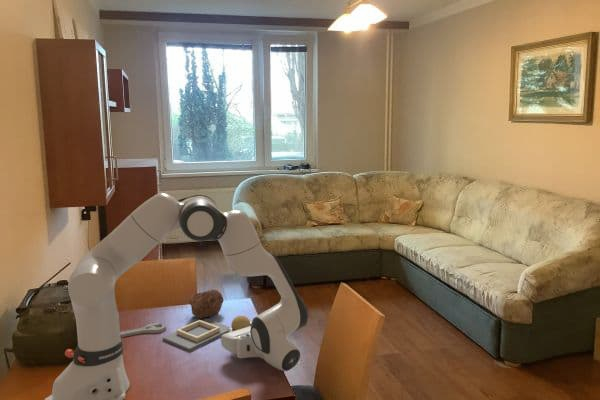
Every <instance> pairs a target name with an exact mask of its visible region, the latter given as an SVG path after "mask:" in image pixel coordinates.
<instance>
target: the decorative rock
mask: <svg viewBox="0 0 600 400" xmlns="http://www.w3.org/2000/svg"><path fill="white" fill-rule="evenodd" d="M188 302H189V306H190V307H191V313H192V315H194V317H196V318H199V319H206V318H210V317H213V315H214V316H215V315H216V316H217V315H218V314H219V313H220V311H221V309H222V306H223V303H224V297H223V295H222V293H221V292H220V291H219V290H217V289H210V290H209V289H208V290H207V291H202V292H198V293H196V294H193V295H192V296H190V299H189V301H188Z"/></svg>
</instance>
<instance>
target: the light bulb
mask: <svg viewBox="0 0 600 400" xmlns="http://www.w3.org/2000/svg"><path fill="white" fill-rule="evenodd" d="M250 322H251V320H250V319H249V318H248V317H247V316H245V315H237V316H236V317H234V318H233V320H232V321H231V325H230V327H232V328H234V331H235V330H239V329H242V328H245V327H249V326H251V325H250Z"/></svg>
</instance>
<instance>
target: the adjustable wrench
mask: <svg viewBox="0 0 600 400" xmlns="http://www.w3.org/2000/svg"><path fill="white" fill-rule="evenodd" d="M166 330H167V326H166V325H162V322H153V323H149V324H148V325H145V326H143V327H139V328H134V329H133V328H132V329H127V330H122V331H121V330H120V337H121V338H124V337H125V338H126V337H129V336H135V335H141V334H160V333H163V332H165V331H166Z"/></svg>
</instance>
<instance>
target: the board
mask: <svg viewBox="0 0 600 400" xmlns="http://www.w3.org/2000/svg"><path fill="white" fill-rule="evenodd" d="M228 328H231V326H228V325H225V324H223V323H221V322H218V321H215V320H212V319H210V318H208V317H205V318H203V319H202V320H201V319H198V320H196V321H194V322H192V323H189V324H187V325H185V326H182V327H179V328H178V329H176V331H174V332H172V333H169V334H168V335H164V336H163V337H162V341H164V342H167V343H169V344H171V345H174V346H175V347H178V348H180V349H183V350H185V351H187V352H192V351H194V350H196V349H198V348H200V347H202V346H204V345H207V344H208V343H210V342H212V341H215V340H217V339H218V338H220V337H222V335H223V334H226V333H228Z"/></svg>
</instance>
